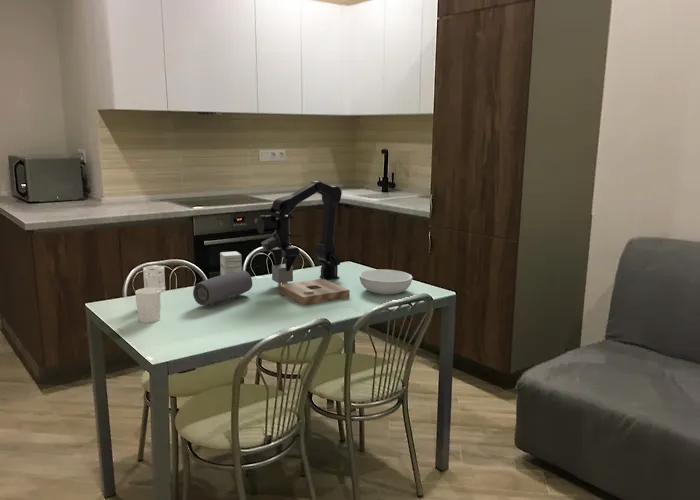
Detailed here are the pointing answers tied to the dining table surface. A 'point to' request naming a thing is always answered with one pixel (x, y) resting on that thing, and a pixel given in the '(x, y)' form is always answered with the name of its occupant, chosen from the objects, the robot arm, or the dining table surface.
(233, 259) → the supplement box
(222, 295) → the bluetooth speaker
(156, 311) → the white cup
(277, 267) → the grey rectangular block
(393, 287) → the serving bowl
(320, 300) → the brown wooden flat slab
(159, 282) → the white tall cylindrical part
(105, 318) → the dining table surface
